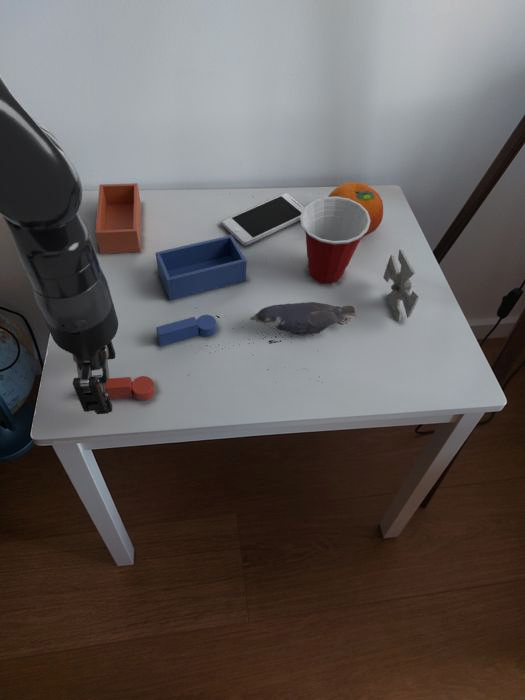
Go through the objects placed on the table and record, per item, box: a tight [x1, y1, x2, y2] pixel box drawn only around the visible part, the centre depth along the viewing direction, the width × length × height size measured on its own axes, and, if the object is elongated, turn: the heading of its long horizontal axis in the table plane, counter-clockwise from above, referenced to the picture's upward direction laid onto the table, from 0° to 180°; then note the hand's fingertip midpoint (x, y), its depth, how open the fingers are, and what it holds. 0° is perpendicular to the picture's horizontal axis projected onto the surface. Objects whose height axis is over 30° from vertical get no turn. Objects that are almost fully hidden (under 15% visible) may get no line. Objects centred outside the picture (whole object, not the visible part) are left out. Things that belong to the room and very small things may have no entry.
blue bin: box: [155, 234, 247, 301], centre depth 84 cm, size 13×7×5 cm, turn 113°
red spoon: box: [99, 375, 156, 402], centre depth 70 cm, size 9×3×3 cm, turn 97°
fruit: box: [327, 181, 384, 238], centre depth 92 cm, size 11×10×8 cm
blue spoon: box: [155, 314, 217, 347], centre depth 77 cm, size 9×3×3 cm, turn 113°
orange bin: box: [94, 182, 142, 254], centre depth 90 cm, size 13×7×5 cm, turn 8°
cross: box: [383, 248, 420, 322], centre depth 80 cm, size 10×3×10 cm, turn 13°
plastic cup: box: [300, 196, 371, 285], centre depth 83 cm, size 11×11×12 cm
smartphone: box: [221, 192, 305, 247], centre depth 95 cm, size 7×16×1 cm, turn 128°
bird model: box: [249, 301, 358, 336], centre depth 78 cm, size 4×17×5 cm, turn 98°
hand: (106, 383), depth 69 cm, fingers open, 8 cm apart
